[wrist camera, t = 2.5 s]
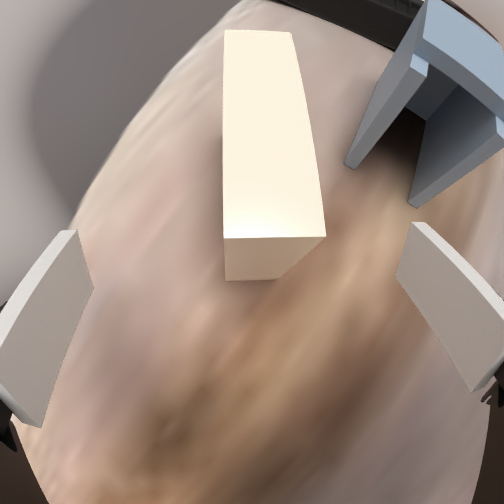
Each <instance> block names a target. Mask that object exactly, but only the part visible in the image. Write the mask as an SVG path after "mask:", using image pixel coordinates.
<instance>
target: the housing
mask: <svg viewBox="0 0 504 504" xmlns="http://www.w3.org/2000/svg"><path fill="white" fill-rule="evenodd" d="M404 106H405V107H406V108H408V109H409V110H411V111H412V112H414V113H415V114H417V115H418V116H420V117H421V118H423V119H424V120H426V125H425V130H424V135H423V140H422V145H421V149H420V154H419V158H418V162H417V167H416V171H415V175H414V179H413V183H412V187H411V190H410V194H409V198H408V201H407V202H408V203H409V204H411V205H412V206H414V207H415V208H418V207H420V206H421V205H423V204H424V203H426V202H427V201H429V200H430V199H432V198H433V197H435V196H436V195H437V194H439V193H440V192H442V191H443V190H445V189H446V188H448V187H449V186H450V185H452V184H453V183H455V182H456V181H458V180H459V179H461V178H462V177H463V176H465V175H466V174H468V173H469V172H470V171H472V170H473V169H475V168H476V167H477V166H479V165H480V164H481V163H483V162H484V161H486V160H487V159H488V158H490V157H491V156H492V155H494V154H495V153H496V152H498V151H499V150H500V149H502V148H503V147H504V54H503V50H502V48H501V45H500V44H499V43H498V42H496V41H495V40H494V39H493V38H492V37H490V36H489V35H488V34H487V33H486V32H484V31H483V30H482V29H480V28H479V27H478V26H477V25H475V24H474V23H473V22H471V21H470V20H469V19H467V18H466V17H464V16H463V15H462V14H460V13H459V12H457V11H456V10H454V9H453V8H451V7H450V6H448V5H447V4H445V3H444V2H442V1H441V0H425V1H424V3H423V5H422V6H421V8H420V10H419V12H418V13H417V15H416V17H415V19H414V20H413V22H412V24H411V26H410V27H409V29H408V31H407V32H406V34H405V36H404V38H403V39H402V41H401V43H400V45H399V46H398V48H397V50H396V51H395V53H394V55H393V57H392V58H391V60H390V62H389V63H388V65H387V67H386V68H385V70H384V72H383V74H382V75H381V77H380V79H379V80H378V82H377V84H376V87H375V89H374V92H373V94H372V97H371V99H370V102H369V104H368V107H367V109H366V112H365V114H364V117H363V119H362V121H361V124H360V126H359V129H358V131H357V133H356V136H355V138H354V140H353V143H352V145H351V147H350V150H349V152H348V154H347V157H346V159H345V161H344V164H345V165H347V166H349V167H351V168H352V169H354V170H355V169H356V168H357V167H358V165H359V164H360V163H361V161H362V160H363V159H364V158H365V156H366V155H367V154H368V153H369V151H370V150H371V149H372V148H373V146H374V145H375V144H376V142H377V141H378V140H379V139H380V137H381V136H382V135H383V134H384V132H385V131H386V130H387V128H388V127H389V126H390V125H391V123H392V122H393V121H394V119H395V118H396V117H397V115H398V114H399V113H400V112H401V110H402V109H403V108H404Z"/></svg>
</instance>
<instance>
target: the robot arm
mask: <svg viewBox="0 0 504 504" xmlns="http://www.w3.org/2000/svg"><path fill="white" fill-rule="evenodd" d="M395 277H396V279H397V280H398V281H399V283H400V284H401V286H402V287H403V288H404V290H405V291H406V293H407V294H408V295H409V297H410V298H411V300H412V301H413V302H414V304H415V305H416V307H417V308H418V310H419V311H420V313H421V314H422V315H423V317H424V318H425V320H426V321H427V323H428V324H429V326H430V327H431V329H432V330H433V332H434V334H435V335H436V337H437V338H438V340H439V341H440V343H441V344H442V346H443V348H444V349H445V351H446V352H447V354H448V356H449V357H450V359H451V361H452V362H453V364H454V365H455V367H456V369H457V371H458V372H459V374H460V376H461V377H462V379H463V381H464V383H465V384H466V386H467V388H468V390H469V391H470V393H472V392H474V391H476V390H478V389H480V388H483V387H484V386H485V385H486V384H487V383H488V382H489V380H490V379H491V378H492V377H493V375H494V376H495V378H496V379H497V381H496V382H495V383H494V384H493V385H492V387H491V388H490V389H489V390H488V391H487V392H486V394H485V395H484V396H483V397H482V399H481V402H484V401H485V400H486V399H487V398H488V397H489V396H490V395H491V398H490V399H489V400H488V401H487V403H486V404H489V405H491V406H490V416H489V424H488V431H487V438H486V444H485V450H484V455H483V460H482V465H481V469H480V474H479V478H478V482H477V486H476V489H475V493H474V496H473V500H472V503H471V504H504V300H503V299H501V297H500V296H499V294H498V293H497V292H496V291H495V290H494V289H493V288H492V287H491V286H490V285H489V284H488V283H487V282H486V281H485V280H484V279H483V278H482V277H481V276H480V275H479V274H478V272H477V271H476V270H475V269H474V268H473V267H472V266H471V265H470V264H469V263H468V262H467V261H466V260H465V259H464V258H463V257H462V256H461V255H460V254H459V253H458V252H457V251H456V250H454V249H453V248H452V247H451V246H450V245H449V244H448V243H447V242H446V241H445V240H444V239H443V238H442V237H441V236H440V235H438V234H437V233H436V232H435V231H434V230H433V229H432V228H431V227H430V226H428V225H427V224H426V223H425V222H411V224H410V228H409V231H408V235H407V239H406V242H405V246H404V249H403V253H402V256H401V259H400V262H399V266H398V269H397V272H396V275H395ZM93 289H94V287H93V284H92V280H91V277H90V274H89V271H88V267H87V264H86V261H85V257H84V254H83V250H82V246H81V243H80V239H79V235H78V231H77V230H64V231H60V232H59V234H58V235H57V236H56V237H55V238H54V240H53V241H52V242H51V243H50V245H49V246H48V247H47V248H46V250H45V251H44V252H43V253H42V255H41V256H40V257H39V259H38V260H37V261H36V263H35V264H34V265H33V267H32V268H31V269H30V270H29V272H28V273H27V275H26V276H25V277H24V279H23V280H22V282H21V283H20V284H19V286H18V287H17V289H16V290H15V292H14V293H13V295H12V296H11V297H10V299H9V301H7V302H6V303H4V304H3V305H2V306H1V307H0V504H49V503H48V501H47V499H46V497H45V495H44V494H43V492H42V490H41V488H40V486H39V484H38V481H37V479H36V477H35V475H34V473H33V471H32V469H31V466H30V464H29V462H28V459H27V457H26V454H25V452H24V450H23V447H22V444H21V442H20V439H19V436H18V434H17V431H16V428H15V426H14V424H13V422H12V421H11V420H10V419H11V416H12V413H13V414H14V415H15V416H16V417H17V418H18V419H19V420H20V421H21V422H22V423H25V424H28V425H32V426H35V427H39V428H42V424H43V421H44V417H45V414H46V410H47V407H48V404H49V401H50V397H51V394H52V391H53V388H54V385H55V382H56V380H57V377H58V374H59V371H60V368H61V365H62V363H63V360H64V357H65V355H66V352H67V350H68V347H69V345H70V342H71V340H72V337H73V335H74V332H75V330H76V327H77V325H78V323H79V320H80V318H81V316H82V313H83V311H84V309H85V307H86V304H87V302H88V300H89V298H90V296H91V293H92V291H93Z"/></svg>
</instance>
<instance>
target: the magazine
mask: <svg viewBox="0 0 504 504" xmlns="http://www.w3.org/2000/svg"><path fill="white" fill-rule="evenodd" d="M280 1H283V2H285V3H288V4H290V5H292V6H294V7H297V8H299V9H301V10H303V11H306V12H308V13H310V14H313V15H315V16H317V17H320V18H322V19H324V20H327V21H329V22H332V23H334V24H336V25H339V26H341V27H343V28H346V29H348V30H350V31H352V32H355V33H357V34H359V35H361V36H364V37H366V38H368V39H370V40H373V41H375V42H377V43H380V44H382V45H385V46H387V47H390V48H392V49H395V50H397V48H398V46H399V45H400V43H401V41H402V39H403V38H404V36H405V34H406V32H407V31H408V29H409V27H410V26H411V24H412V22H413V20H414V19H415V17H416V15H417V13H418V12H419V10H420V8H421V6H422V5H423V3H424V1H422V0H280Z"/></svg>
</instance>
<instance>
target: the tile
mask: <svg viewBox="0 0 504 504" xmlns="http://www.w3.org/2000/svg"><path fill="white" fill-rule="evenodd" d="M223 229H224V260H225V281H242V280H272V279H279V278H280V277H281V276H282V275H283V274H284V273H286V272H287V271H288V270H289V269H290V268H291V267H292V266H294V265H295V264H296V263H297V262H298V261H299V260H300V259H301V258H303V257H304V256H305V255H306V254H307V253H308V252H309V251H310V250H312V249H313V248H314V247H315V246H316V245H317V244H318V243H319V242H321V241H322V240H323V239H324V238H325V237H326V231H325V222H324V214H323V206H322V198H321V190H320V183H319V176H318V169H317V163H316V156H315V150H314V144H313V138H312V132H311V126H310V120H309V115H308V109H307V104H306V99H305V94H304V89H303V84H302V79H301V74H300V70H299V65H298V61H297V56H296V52H295V48H294V43H293V39H292V35H291V33H288V32H276V31H260V30H225V32H224V71H223Z"/></svg>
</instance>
